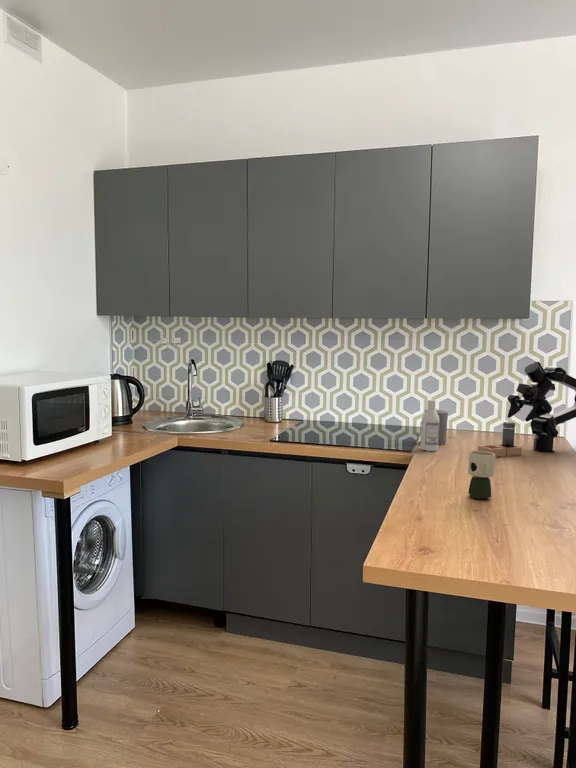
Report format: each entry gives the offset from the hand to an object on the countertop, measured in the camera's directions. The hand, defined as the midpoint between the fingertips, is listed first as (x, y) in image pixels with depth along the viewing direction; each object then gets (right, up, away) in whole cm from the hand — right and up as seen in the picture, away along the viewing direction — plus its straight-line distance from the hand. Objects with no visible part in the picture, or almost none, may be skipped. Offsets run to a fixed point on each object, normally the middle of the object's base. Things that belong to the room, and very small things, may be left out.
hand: (516, 419), depth 235 cm
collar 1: (-11, -14, -4) cm, 18 cm away
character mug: (-36, -19, -66) cm, 77 cm away
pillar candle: (-28, -11, +18) cm, 35 cm away
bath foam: (-34, -13, +2) cm, 37 cm away
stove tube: (-4, -13, 0) cm, 14 cm away
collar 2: (-4, -14, 0) cm, 14 cm away
